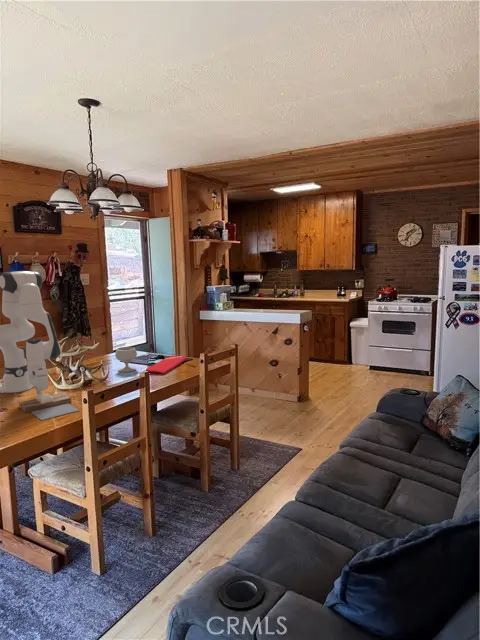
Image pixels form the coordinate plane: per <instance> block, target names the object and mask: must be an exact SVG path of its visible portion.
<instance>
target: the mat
mask: <svg viewBox="0 0 480 640" xmlns="http://www.w3.org/2000/svg"><path fill="white" fill-rule="evenodd" d="M77 412H80V409H78V408H77V407H75V406H73V405H72V404H71V403H66V404H62V405H58V406H54V407H50V408H45V409H41V410H37V411H33V412H30V413H31V414H33V415H34V416H35V417H36V418H37V419H39V420H40V421H45V420H49V419H52V418H57V417H61V416H65V415H68V414H69V415H70V414H72V413H73V414H74V413H77Z"/></svg>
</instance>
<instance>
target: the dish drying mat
mask: <svg viewBox="0 0 480 640" xmlns="http://www.w3.org/2000/svg"><path fill="white" fill-rule="evenodd" d="M187 359H188V357H187V356H184V355H183V356H181V355H171V356H167V357H165V358H163V359H161V360H160V361H158V362H156V363H154V364H152V365H151V366H149V367H147V368H146V369H145V370H144V371H148V372H149V373H150V374H149V375H156V376H159V375H160V376H164V375H166V374H168V373H169V372H170V371H172V370H174V369H175V368H177V367H178V366H180V365H181V364H182V363H184V362H185V361H186V360H187Z"/></svg>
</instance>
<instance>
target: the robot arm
mask: <svg viewBox="0 0 480 640" xmlns="http://www.w3.org/2000/svg"><path fill="white" fill-rule="evenodd" d="M42 285H43V277H42V275H41V274H40V273H39V272H36V271H33V270H32V271H31V270H30V271H29V270H19V271H17V270H16V271H6V272H5V271H4V272H3V273H0V289H1V290H2V295H1V296H2V297H1V304H2V305H1V312H2V315H4V316H5V317H6V318H8V319H10V323H6V324H1V325H0V350H1V352H2V354H3V359H4V374H3V377H2V378H1V379H0V393H1V394H3V393H5V394H6V393H8V394H11V393H22V392H26V391H28V390H31V389H32V388H34V389H35V391H36V395H37V396H38V395H43V394H42V393H43V391H44V390H45V391H46V390H48V389H49V376H48V375H49V370H48V368H47V364H46V361H45V360H56V359H58V358H59V357H60V356H61V355H62V348H61V345H60V342H59V340H58V336H57V333H56V330H55V327H54V323H53V321H52V317H51V315H50V312H48V311H46V310H45V309H44V305H43V300H42V295H41V291H40V289H41V287H42ZM28 320H29V321H28ZM30 321H32V322H36V323H39V324H41V325H43V326H45V329H46V332H47V335H48V338H49V340H47V341H43V339H41V338H37V337H35V338H34V336H35V334H36V329H35V326H34V324H33V323H32V322H30ZM22 341H26V345H25V346H23V349H22V348H19V347H18V346H17V343H18V342H22Z"/></svg>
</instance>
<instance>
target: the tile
mask: <svg viewBox="0 0 480 640" xmlns="http://www.w3.org/2000/svg"><path fill="white" fill-rule="evenodd" d="M51 395H52V394H49V393H48V392H47V393H43V394H42V395H38V394H37V395H36V396H35V399H36V400H37V401H39V402H40V403H42V404H43V403H47V402H51V401H54V397H53V396H51Z"/></svg>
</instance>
